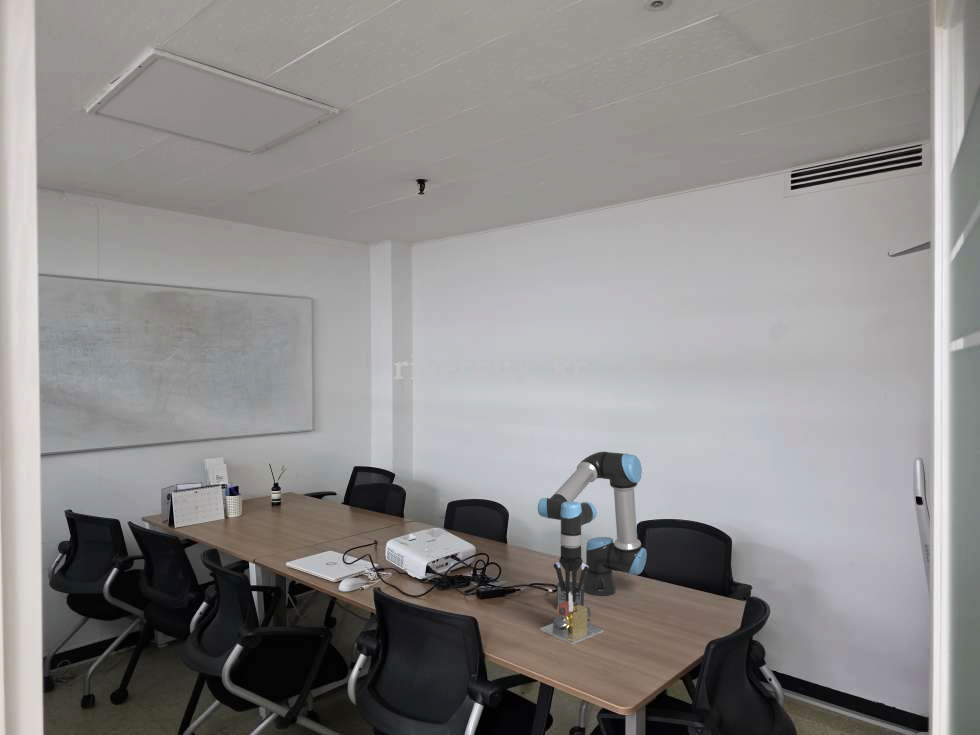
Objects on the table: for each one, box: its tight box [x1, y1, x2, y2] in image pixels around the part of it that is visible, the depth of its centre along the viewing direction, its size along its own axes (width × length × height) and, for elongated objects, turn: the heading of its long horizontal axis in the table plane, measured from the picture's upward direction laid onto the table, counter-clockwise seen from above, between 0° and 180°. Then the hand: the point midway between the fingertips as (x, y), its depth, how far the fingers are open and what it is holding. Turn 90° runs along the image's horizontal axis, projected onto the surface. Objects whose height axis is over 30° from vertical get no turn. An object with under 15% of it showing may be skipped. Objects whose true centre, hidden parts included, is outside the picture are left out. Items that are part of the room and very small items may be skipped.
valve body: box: [539, 604, 605, 646], centre depth 237 cm, size 18×16×10 cm
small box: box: [556, 581, 585, 607], centre depth 259 cm, size 11×6×10 cm, turn 74°
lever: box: [558, 595, 578, 616], centre depth 232 cm, size 15×4×3 cm, turn 156°
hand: (571, 610), depth 228 cm, fingers closed
